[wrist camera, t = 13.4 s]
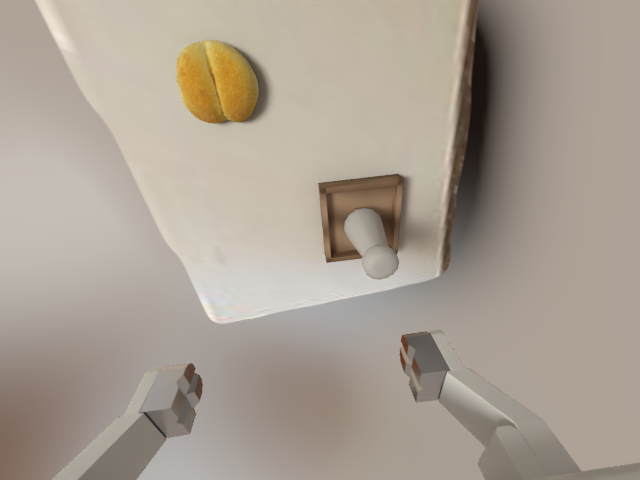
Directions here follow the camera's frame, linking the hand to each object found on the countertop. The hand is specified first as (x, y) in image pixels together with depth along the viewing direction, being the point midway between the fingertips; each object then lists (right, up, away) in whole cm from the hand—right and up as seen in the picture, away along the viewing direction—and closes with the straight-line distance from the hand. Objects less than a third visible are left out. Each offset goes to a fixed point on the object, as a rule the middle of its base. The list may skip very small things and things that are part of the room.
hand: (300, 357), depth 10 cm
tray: (+7, +8, +32) cm, 34 cm away
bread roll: (-11, +23, +22) cm, 34 cm away
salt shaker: (+7, +8, +32) cm, 33 cm away
